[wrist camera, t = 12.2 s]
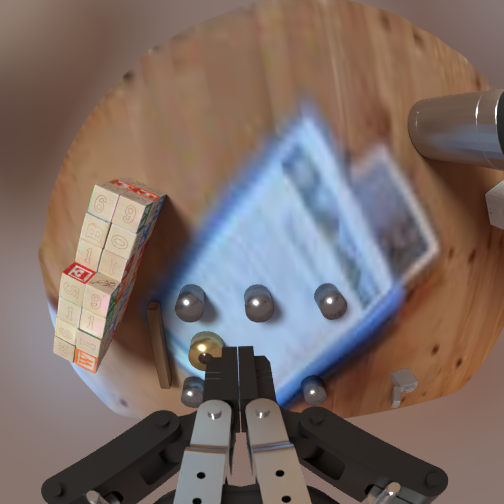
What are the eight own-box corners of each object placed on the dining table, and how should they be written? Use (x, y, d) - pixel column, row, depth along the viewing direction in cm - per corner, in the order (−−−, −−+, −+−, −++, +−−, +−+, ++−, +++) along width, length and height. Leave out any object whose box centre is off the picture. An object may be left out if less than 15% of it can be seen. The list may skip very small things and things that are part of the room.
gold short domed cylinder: (223, 331, 43) (223, 345, 40) (223, 357, 44) (223, 371, 41) (190, 330, 43) (187, 344, 39) (192, 356, 44) (189, 370, 41)
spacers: (339, 283, 41) (348, 295, 38) (318, 392, 49) (323, 407, 45) (171, 284, 40) (166, 297, 36) (186, 396, 47) (183, 412, 43)
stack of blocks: (125, 175, 35) (81, 187, 23) (167, 193, 36) (139, 212, 24) (87, 307, 40) (51, 353, 29) (122, 324, 42) (94, 375, 30)
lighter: (408, 367, 49) (427, 393, 41) (406, 374, 50) (424, 399, 42) (378, 375, 49) (394, 403, 41) (376, 381, 49) (392, 410, 42)
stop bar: (160, 301, 41) (156, 310, 38) (171, 378, 45) (169, 388, 43) (150, 301, 40) (145, 309, 38) (163, 378, 45) (160, 388, 43)
